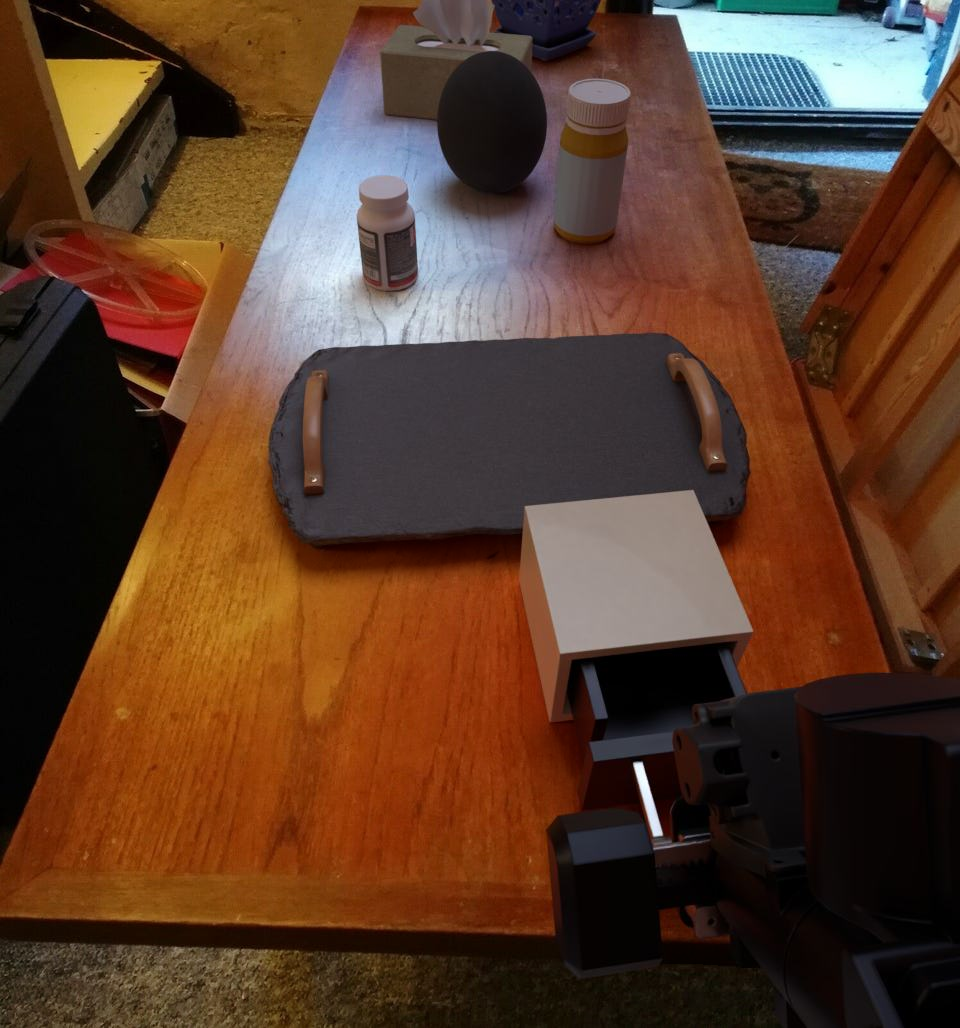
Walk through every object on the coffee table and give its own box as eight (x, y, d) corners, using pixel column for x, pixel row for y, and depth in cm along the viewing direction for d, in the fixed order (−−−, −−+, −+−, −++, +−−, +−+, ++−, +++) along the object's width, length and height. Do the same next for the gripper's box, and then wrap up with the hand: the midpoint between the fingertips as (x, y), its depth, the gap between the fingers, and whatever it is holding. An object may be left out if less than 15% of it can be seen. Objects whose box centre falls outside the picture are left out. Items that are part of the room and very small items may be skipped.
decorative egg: (559, 203, 100) (571, 67, 89) (460, 222, 97) (459, 84, 85) (517, 157, 107) (523, 26, 96) (424, 173, 104) (419, 40, 93)
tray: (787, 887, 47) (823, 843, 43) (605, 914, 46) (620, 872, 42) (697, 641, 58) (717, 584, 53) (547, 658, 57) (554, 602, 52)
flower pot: (539, 25, 138) (544, -62, 129) (604, 47, 132) (614, -42, 123) (482, 46, 132) (483, -43, 123) (548, 71, 126) (554, -21, 117)
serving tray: (697, 353, 81) (711, 297, 76) (775, 540, 65) (798, 483, 61) (282, 373, 78) (271, 316, 74) (262, 572, 63) (246, 516, 58)
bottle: (545, 239, 94) (556, 99, 83) (561, 209, 99) (574, 72, 88) (607, 251, 93) (627, 110, 82) (621, 220, 97) (641, 82, 86)
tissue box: (381, 115, 115) (372, -18, 103) (400, 86, 121) (393, -43, 110) (520, 128, 113) (526, -6, 101) (531, 98, 119) (538, -32, 107)
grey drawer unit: (723, 701, 56) (754, 631, 50) (549, 723, 55) (559, 654, 49) (672, 564, 64) (693, 489, 58) (518, 580, 63) (524, 505, 57)
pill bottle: (420, 263, 91) (416, 173, 83) (416, 293, 87) (411, 202, 80) (366, 261, 91) (357, 171, 84) (359, 292, 87) (350, 200, 80)
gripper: (1099, 702, 30) (856, 623, 45) (577, 770, 28) (509, 663, 44) (1114, 1007, 31) (869, 827, 46) (605, 1094, 29) (529, 876, 44)
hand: (698, 794), depth 45 cm, fingers closed
